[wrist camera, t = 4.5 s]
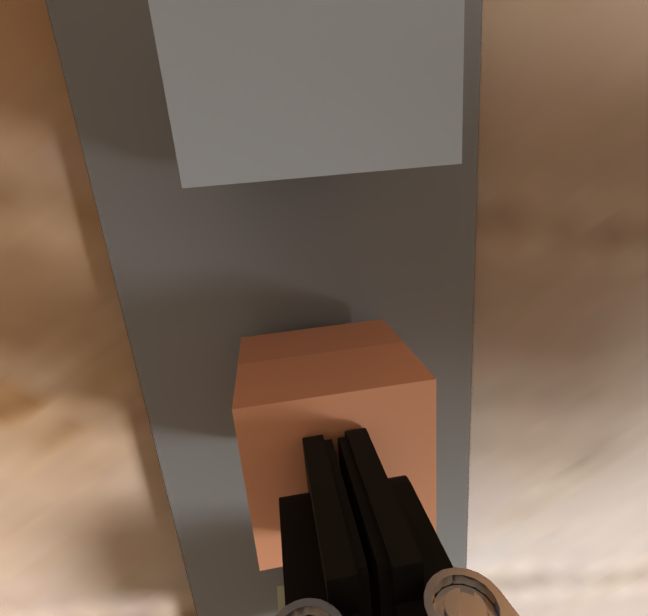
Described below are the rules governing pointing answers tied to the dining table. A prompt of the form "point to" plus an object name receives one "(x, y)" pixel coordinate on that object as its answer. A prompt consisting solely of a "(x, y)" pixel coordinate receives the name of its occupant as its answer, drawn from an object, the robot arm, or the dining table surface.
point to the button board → (262, 283)
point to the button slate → (310, 86)
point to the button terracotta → (329, 413)
